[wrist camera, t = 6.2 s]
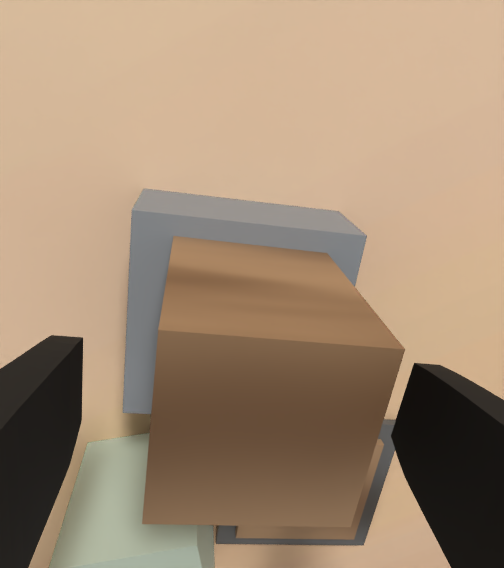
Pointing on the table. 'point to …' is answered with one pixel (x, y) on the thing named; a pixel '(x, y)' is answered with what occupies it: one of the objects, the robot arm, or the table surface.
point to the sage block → (123, 516)
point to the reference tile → (326, 534)
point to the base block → (220, 227)
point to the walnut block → (263, 389)
